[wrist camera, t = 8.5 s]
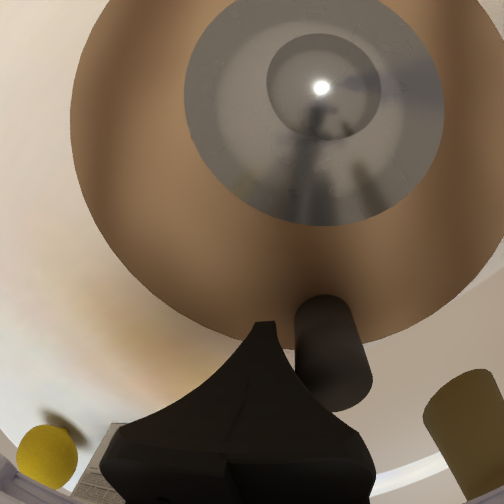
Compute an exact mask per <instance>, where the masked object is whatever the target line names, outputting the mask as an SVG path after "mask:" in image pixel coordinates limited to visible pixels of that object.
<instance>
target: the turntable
mask: <svg viewBox="0 0 504 504" xmlns="http://www.w3.org/2000/svg"><path fill="white" fill-rule="evenodd" d="M235 1H236V0H110V1H109V2H108V4H107V5H106V7H105V8H104V10H103V11H102V13H101V15H100V16H99V18H98V20H97V21H96V23H95V25H94V27H93V28H92V31H91V33H90V35H89V37H88V40H87V42H86V44H85V47H84V49H83V52H82V54H81V57H80V61H79V64H78V68H77V72H76V76H75V79H74V85H73V92H72V100H71V108H70V135H71V146H72V153H73V159H74V165H75V170H76V174H77V177H78V180H79V184H80V187H81V191H82V194H83V197H84V199H85V201H86V204H87V206H88V208H89V210H90V213H91V215H92V217H93V219H94V221H95V224H96V225H97V227H98V229H99V230H100V232H101V233H102V235H103V237H104V238H105V240H106V242H107V243H108V245H109V246H110V248H111V249H112V251H113V252H114V253H115V254H116V256H117V257H118V258H119V259H120V261H121V262H122V263H123V264H124V265H125V267H126V268H127V269H128V270H129V272H130V273H131V274H132V275H133V276H134V277H135V278H137V279H138V280H139V281H140V282H141V283H142V284H143V285H144V286H145V287H146V288H147V289H148V290H149V291H150V292H151V293H152V294H154V295H155V296H156V297H158V298H159V299H160V300H162V301H163V302H165V303H166V304H167V305H169V306H170V307H171V308H173V309H174V310H176V311H177V312H179V313H180V314H182V315H184V316H186V317H188V318H189V319H191V320H193V321H195V322H197V323H198V324H200V325H202V326H204V327H206V328H209V329H211V330H214V331H216V332H219V333H221V334H224V335H226V336H229V337H231V338H234V339H238V340H242V341H244V339H245V338H246V337H247V335H248V334H249V332H250V331H251V330H252V328H253V325H254V323H255V322H260V321H275V323H276V329H277V337H278V340H279V343H280V345H281V347H282V349H290V350H295V373H296V374H297V376H298V377H299V378H300V380H301V381H302V382H303V384H304V385H305V386H306V387H307V389H308V390H309V391H310V392H311V393H312V394H313V395H314V396H315V397H316V398H317V399H318V400H319V401H320V402H321V403H322V404H323V405H324V406H325V407H326V408H327V409H328V410H329V411H330V412H331V413H332V412H339V411H343V410H346V409H348V408H351V407H353V406H355V405H356V404H358V403H359V402H361V401H362V400H363V399H364V398H365V397H366V396H367V394H368V393H369V391H370V389H371V387H372V383H373V378H372V377H373V376H372V373H371V370H370V366H369V363H368V360H367V357H366V354H365V351H364V348H363V345H362V344H363V343H367V342H371V341H375V340H379V339H382V338H384V337H387V336H390V335H392V334H395V333H397V332H400V331H402V330H405V329H407V328H409V327H411V326H413V325H414V324H416V323H418V322H420V321H422V320H423V319H425V318H427V317H429V316H430V315H432V314H433V313H435V312H436V311H438V310H439V309H440V308H442V307H443V306H444V305H446V304H447V303H448V302H450V301H451V300H452V299H454V298H455V297H456V296H457V295H458V294H459V293H460V292H461V291H462V290H463V289H464V288H465V287H466V286H467V285H468V284H469V283H470V282H471V281H472V280H473V279H474V278H475V277H476V276H477V275H478V273H479V272H480V271H481V270H482V268H483V267H484V266H485V264H486V263H487V262H488V261H489V259H490V258H491V257H492V255H493V253H494V252H495V250H496V248H497V247H498V245H499V243H500V242H501V240H502V238H503V236H504V41H503V39H502V37H501V36H500V34H499V32H498V30H497V29H496V27H495V25H494V24H493V22H492V20H491V19H490V17H489V16H488V14H487V13H486V11H485V10H484V9H483V7H482V6H481V5H480V4H479V2H478V1H477V0H378V1H379V2H381V3H383V4H384V5H386V6H387V7H389V8H390V9H391V10H393V11H394V12H395V13H396V14H398V15H399V16H400V17H401V18H402V19H403V20H404V21H405V22H406V23H407V24H408V25H409V26H410V27H411V28H412V29H413V30H414V32H415V33H416V34H417V35H418V37H419V38H420V39H421V41H422V42H423V44H424V45H425V47H426V49H427V50H428V52H429V54H430V56H431V58H432V60H433V62H434V64H435V67H436V69H437V72H438V75H439V79H440V82H441V86H442V92H443V98H444V125H443V133H442V137H441V141H440V145H439V148H438V151H437V153H436V156H435V158H434V160H433V162H432V164H431V166H430V168H429V169H428V171H427V173H426V175H425V176H424V177H423V178H422V180H421V181H420V182H419V184H418V185H417V186H416V187H415V188H414V189H413V190H412V191H411V192H410V193H409V194H408V195H407V196H406V197H405V198H404V199H402V200H401V201H400V202H398V203H397V204H395V205H394V206H393V207H391V208H389V209H387V210H386V211H384V212H382V213H380V214H378V215H376V216H373V217H370V218H368V219H365V220H362V221H359V222H354V223H350V224H345V225H336V226H309V225H303V224H297V223H292V222H288V221H285V220H281V219H278V218H275V217H272V216H270V215H268V214H265V213H263V212H261V211H259V210H257V209H255V208H253V207H252V206H250V205H248V204H246V203H245V202H243V201H242V200H241V199H239V198H238V197H237V196H235V195H234V194H233V193H231V192H230V191H229V190H228V189H227V188H226V187H225V186H224V185H223V184H222V183H221V182H220V181H219V180H218V179H217V178H216V177H215V176H214V174H213V173H212V172H211V171H210V169H209V168H208V167H207V166H206V164H205V162H204V161H203V159H202V157H201V156H200V154H199V152H198V151H197V149H196V146H195V144H194V142H193V139H192V137H191V135H190V131H189V128H188V124H187V120H186V115H185V107H184V83H185V76H186V70H187V67H188V63H189V60H190V57H191V54H192V52H193V50H194V48H195V46H196V43H197V41H198V40H199V38H200V37H201V35H202V34H203V32H204V31H205V29H206V28H207V26H208V25H209V24H210V23H211V22H212V21H213V20H214V18H215V17H216V16H217V15H218V14H219V13H221V12H222V11H223V10H224V9H225V8H226V7H228V6H229V5H230V4H232V3H233V2H235Z"/></svg>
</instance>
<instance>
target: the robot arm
mask: <svg viewBox="0 0 504 504" xmlns="http://www.w3.org/2000/svg"><path fill="white" fill-rule="evenodd" d="M99 468H100V472H101V474H102V475H103V477H104V478H105V479H106V481H107V482H108V483H109V484H110V485H111V486H112V487H113V488H114V490H115V491H116V492H117V493H118V494H119V495H120V496H121V497H122V498H123V499H124V500H125V504H370V500H369V496H370V493H371V491H372V488H373V485H374V483H375V480H376V470H375V466H374V463H373V460H372V457H371V455H370V453H369V451H368V449H367V447H366V445H365V443H364V441H363V439H362V438H361V436H360V434H359V432H357V431H356V430H354V429H353V428H351V427H349V426H348V425H347V424H345V423H344V422H343V421H341V420H340V419H339V418H337V417H336V416H335V415H334V414H333V413H331V412H330V411H329V410H328V409H327V408H326V407H325V406H324V405H323V404H322V403H321V402H320V401H319V400H318V399H317V398H316V397H315V396H314V395H313V394H312V393H311V392H310V391H309V390H308V389H307V387H306V386H305V385H304V384H303V382H302V381H301V380H300V378H299V377H298V376H297V374H296V373H295V371H294V370H293V368H292V367H291V365H290V363H289V361H288V360H287V358H286V356H285V354H284V352H283V350H282V347H281V345H280V343H279V340H278V337H277V329H276V323H275V321H260V322H255V323H254V325H253V328H252V330H251V331H250V332H249V334H248V335H247V337H246V338H245V339H244V341H243V342H242V343H241V345H240V346H239V347H238V348H237V349H236V351H235V352H234V353H233V354H232V356H231V357H230V358H229V359H228V360H227V361H226V362H225V363H224V364H223V365H222V366H221V367H220V368H219V369H218V370H217V371H216V372H215V373H214V374H213V375H212V376H211V377H210V378H209V379H207V380H206V381H205V382H204V383H203V384H201V385H200V386H199V387H197V388H196V389H194V390H193V391H191V392H190V393H189V394H187V395H186V396H184V397H183V398H181V399H180V400H178V401H176V402H175V403H173V404H171V405H169V406H167V407H166V408H164V409H162V410H160V411H158V412H156V413H153V414H151V415H149V416H147V417H144V418H142V419H139V420H136V421H134V422H131V423H129V424H126V425H123V426H120V427H119V428H118V430H117V431H116V433H115V435H114V436H113V438H112V440H111V442H110V444H109V445H108V447H107V449H106V451H105V453H104V455H103V457H102V459H101V461H100V463H99ZM0 504H87V503H84V502H81V501H79V500H77V499H74V498H72V497H69V496H67V495H65V494H62V493H60V492H58V491H56V490H54V489H52V488H50V487H47V486H45V485H43V484H41V483H39V482H37V481H35V480H34V479H32V478H30V477H28V476H26V475H24V474H22V473H21V472H19V471H17V469H16V468H15V467H14V465H13V464H12V463H11V462H10V461H9V460H8V459H7V458H6V457H5V456H3V455H2V454H0ZM463 504H504V485H503V486H501V487H499V488H497V489H495V490H493V491H491V492H489V493H487V494H484V495H482V496H480V497H478V498H475V499H473V500H470V501H468V502H466V503H463Z"/></svg>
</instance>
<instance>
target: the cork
mask: <svg viewBox="0 0 504 504" xmlns="http://www.w3.org/2000/svg"><path fill="white" fill-rule="evenodd" d="M423 422H424V424H425V426H426V428H427V430H428V431H429V433H430V435H431V436H432V438H433V440H434V442H435V443H436V445H437V447H438V448H439V450H440V452H441V454H442V455H443V457H444V459H445V461H446V463H447V464H448V466H449V468H450V470H451V472H452V473H453V475H454V477H455V479H456V480H457V483H458V484H459V486H460V488H461V490H462V492H463V494H464V496H465V497H466V499H467V502H468V501H470V500H473V499H475V498H478V497H480V496H482V495H484V494H487V493H489V492H491V491H493V490H495V489H497V488H499V487H501V486H503V485H504V400H503V397H502V395H501V393H500V391H499V388H498V386H497V384H496V382H495V379H494V378H493V375H492V373H491V372H490V371H488V370H486V369H475V370H471V371H468V372H465V373H463V374H461V375H459V376H457V377H456V378H454V379H452V380H451V381H449V382H448V383H447V384H446V385H444V386H443V387H442V388H440V389H439V390H438V392H437V393H436V394H435V395H434V396H433V397H432V398H431V399H430V401H429V403H428V404H427V406H426V407H425V410H424V413H423Z"/></svg>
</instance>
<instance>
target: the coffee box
mask: <svg viewBox="0 0 504 504" xmlns="http://www.w3.org/2000/svg"><path fill="white" fill-rule="evenodd" d="M123 425H126V424H117V423H112V424H111V426H110V428H109V430H108V431H107V433H106V435H105V437H104V438H103V440H102V441H101V443H100V445H99V447H98V448H97V450H96V452H95V453H94V455H93V457H92V459H91V460H90V462H89V464H88V466H87V468H86V469H85V471H84V473H83V475H82V476H81V478H80V480H79V481H78V483H77V485H76V487H75V488H74V490H73V492H72V494H71V496H70V497H72V498H74V499H77V500H79V501H81V502H84V503H87V504H125V500H124V499H123V498H122V497H121V496H120V495H119V494H118V493H117V492H116V491H115V490H114V488H113V487H112V486H111V485H110V484H109V483H108V482H107V481H106V479H105V478H104V477H103V475H102V474H101V472H100V468H99V463H100V461H101V459H102V457H103V455H104V453H105V451H106V449H107V447H108V445H109V444H110V442H111V440H112V438H113V436H114V435H115V433H116V431H117V430H118V428H119V427H120V426H123Z"/></svg>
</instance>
